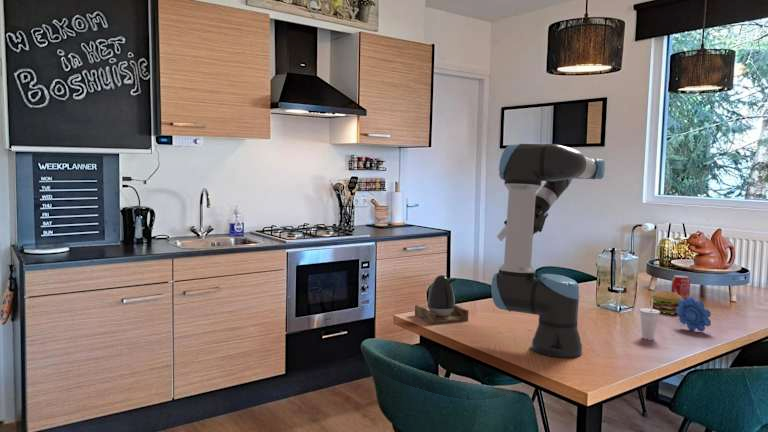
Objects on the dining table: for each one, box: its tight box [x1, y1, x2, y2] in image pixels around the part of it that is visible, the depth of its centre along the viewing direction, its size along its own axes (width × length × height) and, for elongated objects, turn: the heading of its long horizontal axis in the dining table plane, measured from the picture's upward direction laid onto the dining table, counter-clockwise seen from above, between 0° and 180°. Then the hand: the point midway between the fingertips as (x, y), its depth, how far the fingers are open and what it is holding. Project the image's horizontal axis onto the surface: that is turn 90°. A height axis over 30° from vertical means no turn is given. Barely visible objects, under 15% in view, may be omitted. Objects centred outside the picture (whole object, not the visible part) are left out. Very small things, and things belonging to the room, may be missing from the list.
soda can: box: [670, 274, 691, 301], centre depth 247 cm, size 7×7×12 cm
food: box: [649, 291, 682, 314], centre depth 233 cm, size 14×14×8 cm
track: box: [414, 304, 469, 326], centre depth 213 cm, size 14×15×4 cm
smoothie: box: [639, 297, 661, 341], centre depth 193 cm, size 6×6×14 cm
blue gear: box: [676, 296, 712, 332], centre depth 203 cm, size 12×7×12 cm, turn 46°
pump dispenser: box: [427, 274, 457, 317], centre depth 213 cm, size 10×10×15 cm
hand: (509, 241), depth 217 cm, fingers open, 13 cm apart
